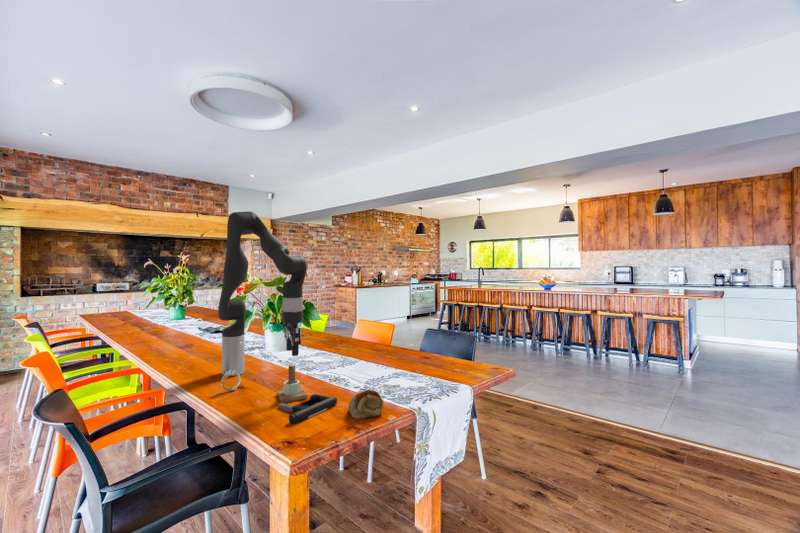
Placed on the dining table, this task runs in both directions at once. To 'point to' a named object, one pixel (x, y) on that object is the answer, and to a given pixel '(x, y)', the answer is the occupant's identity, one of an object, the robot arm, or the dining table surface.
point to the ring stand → (302, 393)
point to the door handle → (308, 407)
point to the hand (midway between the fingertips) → (292, 352)
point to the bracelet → (227, 377)
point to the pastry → (365, 404)
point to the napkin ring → (291, 388)
